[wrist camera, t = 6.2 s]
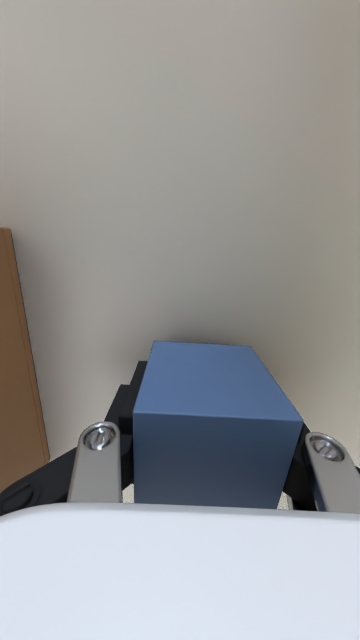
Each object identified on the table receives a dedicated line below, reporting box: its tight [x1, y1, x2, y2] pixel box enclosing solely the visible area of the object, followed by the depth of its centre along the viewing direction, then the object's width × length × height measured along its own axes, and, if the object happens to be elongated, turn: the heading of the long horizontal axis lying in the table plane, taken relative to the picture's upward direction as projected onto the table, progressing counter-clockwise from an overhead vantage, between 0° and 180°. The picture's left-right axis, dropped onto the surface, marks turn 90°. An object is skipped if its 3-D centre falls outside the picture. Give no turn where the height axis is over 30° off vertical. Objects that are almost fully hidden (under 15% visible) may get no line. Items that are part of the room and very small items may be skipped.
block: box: [133, 341, 303, 509], centre depth 9 cm, size 5×5×5 cm
